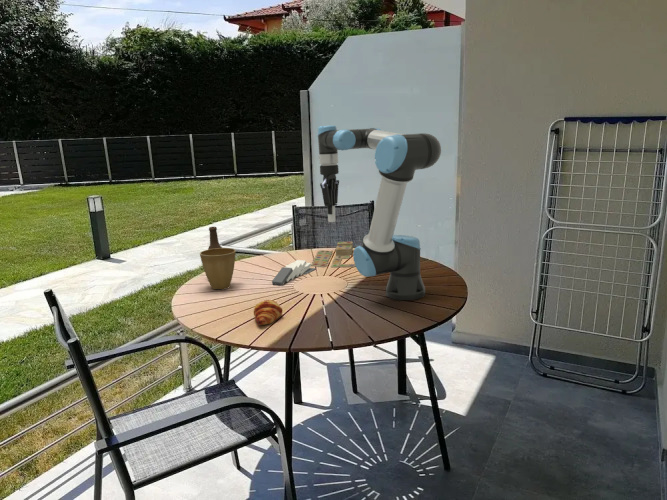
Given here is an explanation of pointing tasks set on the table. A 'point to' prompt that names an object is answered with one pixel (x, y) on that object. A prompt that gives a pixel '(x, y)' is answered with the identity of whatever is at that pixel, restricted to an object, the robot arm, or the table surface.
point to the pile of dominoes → (341, 253)
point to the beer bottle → (213, 238)
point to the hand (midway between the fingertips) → (331, 221)
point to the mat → (309, 270)
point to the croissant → (267, 312)
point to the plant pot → (218, 266)
